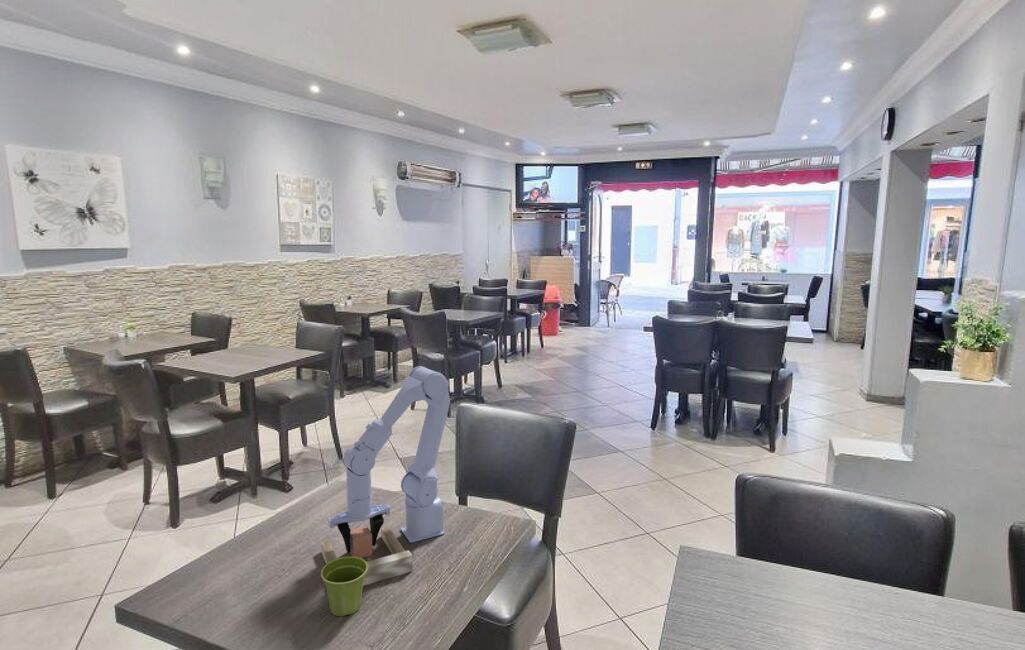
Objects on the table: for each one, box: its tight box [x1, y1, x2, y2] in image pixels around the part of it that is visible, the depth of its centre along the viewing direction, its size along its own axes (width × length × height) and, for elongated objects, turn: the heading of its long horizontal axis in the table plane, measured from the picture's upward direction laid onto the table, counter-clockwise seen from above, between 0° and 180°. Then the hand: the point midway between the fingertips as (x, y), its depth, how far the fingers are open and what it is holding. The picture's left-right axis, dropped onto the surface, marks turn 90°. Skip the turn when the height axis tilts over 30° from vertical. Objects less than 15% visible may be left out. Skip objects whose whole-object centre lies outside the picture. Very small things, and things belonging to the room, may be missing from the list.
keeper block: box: [350, 525, 373, 559], centre depth 133 cm, size 4×4×6 cm
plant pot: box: [320, 556, 368, 617], centre depth 113 cm, size 9×9×9 cm
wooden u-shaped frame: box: [320, 525, 413, 587], centre depth 130 cm, size 17×18×4 cm
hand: (360, 547), depth 133 cm, fingers open, 5 cm apart
